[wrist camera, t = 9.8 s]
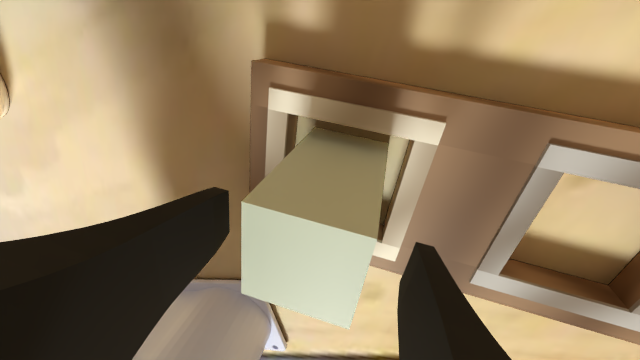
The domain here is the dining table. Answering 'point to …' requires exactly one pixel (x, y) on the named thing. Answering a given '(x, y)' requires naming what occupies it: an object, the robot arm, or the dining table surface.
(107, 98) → the dining table surface
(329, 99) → the socket board
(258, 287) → the peg
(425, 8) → the dining table surface
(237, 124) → the dining table surface
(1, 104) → the lidded jar
